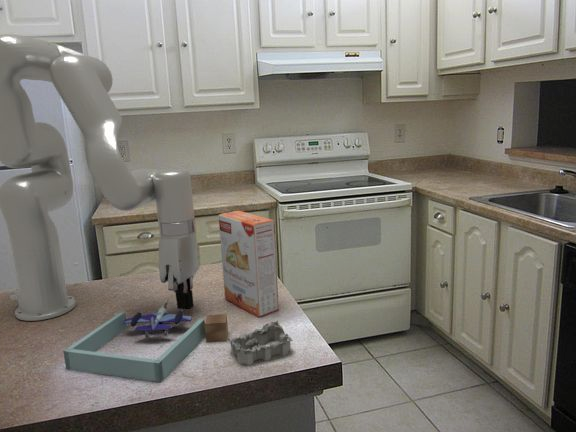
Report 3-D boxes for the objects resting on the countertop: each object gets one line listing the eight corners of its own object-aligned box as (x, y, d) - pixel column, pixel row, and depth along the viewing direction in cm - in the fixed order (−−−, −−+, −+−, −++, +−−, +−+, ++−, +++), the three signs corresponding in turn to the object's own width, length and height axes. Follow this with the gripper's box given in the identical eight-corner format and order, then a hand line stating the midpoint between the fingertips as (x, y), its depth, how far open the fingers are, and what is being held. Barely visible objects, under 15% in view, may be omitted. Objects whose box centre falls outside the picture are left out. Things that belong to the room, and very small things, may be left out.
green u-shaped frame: (66, 369, 85) (63, 351, 85) (123, 326, 101) (121, 311, 101) (160, 382, 80) (158, 363, 79) (205, 335, 96) (204, 319, 95)
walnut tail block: (206, 342, 93) (204, 323, 92) (208, 333, 97) (206, 315, 96) (226, 341, 93) (225, 322, 93) (228, 332, 97) (226, 313, 96)
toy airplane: (170, 308, 109) (168, 294, 108) (205, 327, 99) (203, 311, 99) (115, 328, 101) (112, 312, 100) (147, 351, 91) (145, 333, 90)
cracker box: (223, 300, 113) (217, 213, 109) (244, 293, 117) (239, 209, 112) (257, 318, 103) (252, 223, 98) (279, 310, 106) (275, 218, 102)
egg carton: (280, 338, 94) (279, 319, 93) (295, 356, 87) (295, 335, 87) (227, 350, 90) (226, 330, 89) (239, 369, 84) (237, 347, 83)
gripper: (178, 219, 110) (185, 294, 114) (142, 236, 96) (152, 321, 100) (208, 219, 108) (215, 296, 112) (176, 237, 94) (185, 324, 98)
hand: (185, 307), depth 106 cm, fingers closed
